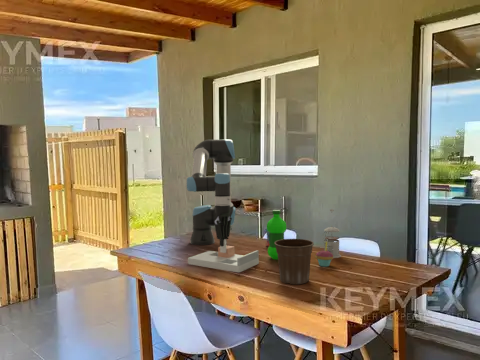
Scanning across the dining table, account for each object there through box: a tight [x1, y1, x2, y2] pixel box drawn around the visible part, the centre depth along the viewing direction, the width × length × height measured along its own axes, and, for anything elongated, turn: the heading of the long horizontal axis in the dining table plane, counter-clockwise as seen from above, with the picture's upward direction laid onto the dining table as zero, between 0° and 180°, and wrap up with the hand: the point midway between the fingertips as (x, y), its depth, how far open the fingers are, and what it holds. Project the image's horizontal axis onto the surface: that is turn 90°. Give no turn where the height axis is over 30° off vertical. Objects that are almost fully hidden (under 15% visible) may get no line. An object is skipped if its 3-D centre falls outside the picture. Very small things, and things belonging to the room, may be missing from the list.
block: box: [217, 244, 236, 258], centre depth 190 cm, size 6×6×4 cm
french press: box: [322, 208, 342, 259], centre depth 201 cm, size 10×12×25 cm
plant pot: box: [274, 238, 314, 285], centre depth 159 cm, size 16×16×16 cm
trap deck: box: [187, 250, 260, 273], centre depth 186 cm, size 30×18×6 cm, turn 58°
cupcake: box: [315, 240, 334, 268], centre depth 182 cm, size 9×8×12 cm
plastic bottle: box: [266, 209, 287, 261], centre depth 196 cm, size 10×10×25 cm
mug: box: [264, 227, 269, 247], centre depth 225 cm, size 12×9×11 cm
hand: (223, 252), depth 187 cm, fingers closed
